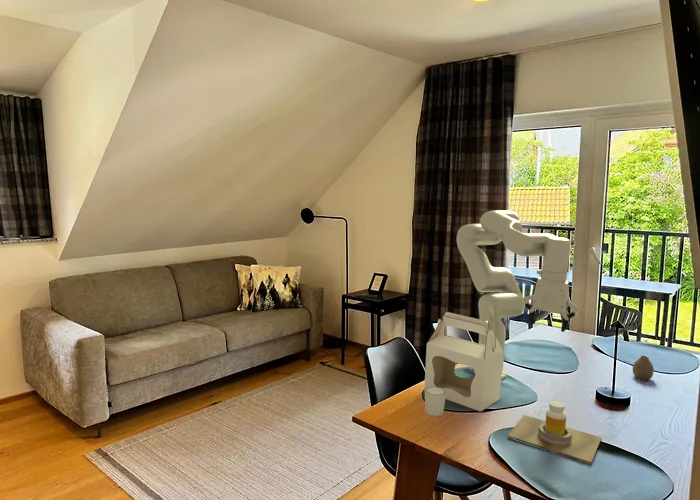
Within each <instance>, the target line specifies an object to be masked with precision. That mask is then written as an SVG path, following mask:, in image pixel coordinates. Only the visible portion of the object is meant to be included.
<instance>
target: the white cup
mask: <svg viewBox="0 0 700 500" xmlns="http://www.w3.org/2000/svg"><path fill="white" fill-rule="evenodd" d="M446 400H447V399H446V390H444V389H442V388H440V387H427V388H426V389H425V390H424V406H425V413H426V414H428V415H430V416H433V417H434V416H435V417H437V416H438V417H439V416H442V415H443V414H444V409H445V404H446Z"/></svg>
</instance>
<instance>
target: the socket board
mask: <svg viewBox="0 0 700 500" xmlns="http://www.w3.org/2000/svg"><path fill="white" fill-rule="evenodd" d="M508 437H510V438H513V439H516V440H519V441H522V442H525V443H528V444H531V445H534V446H537V447H540V448H543V449H546V450H548V451H547V452H549V451H552V452H555V453H557V454H556V455H558V454H560V455H559V456H562V455H563V456H562V457H565V456H566V457H565V458H568V457H569V458H568V459H571V458H573V459H572V460H574V459H576V460H575V461H577V460H579V461H578V462H580V461H582V462H581V463H583V462H585V463H584V464H586V463H589V464H588V465H590V464H591V465H593V462H592V461H594V459H595V457H594V456H596V455H597V452H596V451H598V449H599V447H598V446H600V445H601V442H602V438H603V437H601V436H599V435H594V434H591V433H587V432H584V431H581V430H578V429H574V428H570V427H568V426H565V435H564V436H556V435H552V434H549V433H547V432H546V431H545V420H544V419H543V420H542V419H539V418H536V417H532V416H528V415H525V414H523V416H521V418H520V419H519V421H518V422H517V423H516V424H515V426H514V427H513V428H512V430H511V431H510V432H509V433H508V434H507V438H508ZM600 441H601V442H600ZM537 447H536V448H537ZM540 448H539V449H540ZM597 448H598V449H597ZM543 449H542V450H543ZM546 450H545V451H546ZM552 452H551V453H552ZM555 453H554V454H555Z"/></svg>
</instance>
